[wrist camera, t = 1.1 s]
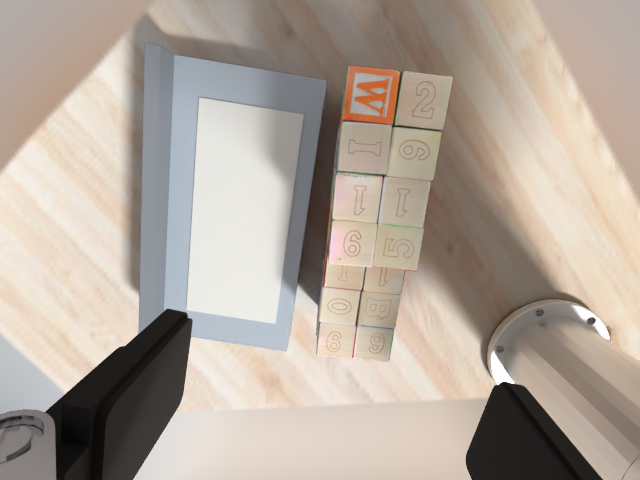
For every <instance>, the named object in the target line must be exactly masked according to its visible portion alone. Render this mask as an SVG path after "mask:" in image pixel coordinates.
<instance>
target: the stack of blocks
mask: <svg viewBox="0 0 640 480" xmlns="http://www.w3.org/2000/svg"><path fill="white" fill-rule="evenodd" d="M452 83H453V77H451V76H442V75H434V74H426V73H418V72H410V71H404V72H402V73H400V72H399V71H396V70H390V69H381V68H372V67H362V66H349V67H348V72H347V78H346V82H345V87H344V94H343V98H342V106H341V114H340V122H339V130H338V133H337V141H336V149H335V158H334V166H333V173H332V181H331V190H330V198H331V200H330V209H329V217H328V228H327V230H328V231H327V239H326V248H325V254H324V255H323V262H322V270H321V279H320V292H319V301H318V315H317V328H316V335H317V352H316V354H317V355H322V356H332V357H341V358H349V359H351V358H356V359H365V360H375V361H384V362H388V361H389V359H390V353H391V346H392V341H393V333H394V329H395V326H396V320H397V314H398V308H399V302H400V294H401V291H402V286H403V279H404V272H405V270H409V271H417V268H418V262H419V256H420V250H421V244H422V239H423V233H424V228H423V225H424V221H425V216H426V210H427V203H428V198H429V193H430V187H431V182H432V180H433V179H434V174H435V169H436V163H437V157H438V152H439V147H440V141H441V136H442V132H441V131H442V130H443V128H444V124H445V119H446V114H447V109H448V104H449V99H450V94H451V88H452Z"/></svg>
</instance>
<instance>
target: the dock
mask: <svg viewBox="0 0 640 480" xmlns="http://www.w3.org/2000/svg"><path fill="white" fill-rule="evenodd" d="M326 90H327V80H324V79H318V78H312V77H306V76H300V75H294V74H288V73H282V72H276V71H270V70H264V69H258V68H252V67H246V66H239V65H233V64H227V63H221V62H215V61H209V60H203V59H197V58H191V57H185V56H179V55H174V54H173V53H171V52H169V51H168V50H166V49H165V48H163V47H162V46H159V45H153V44H147V43H145V51H144V100H143V148H142V196H141V244H140V292H139V333H140V332H141V331H143V330H144V329H145V328H146V327H147V326H148V325H149V324H150V323H151V322H153V321H154V320H155V319H156V318H157V317H158V316H159V315H160V314H161V313H163V312H164V311H165V310H166V309H173V310H177V311H182V312H186V313H187V314H188V318H191V319H192V320H193V324H192V331H191V337H196V338H202V339H209V340H215V341H222V342H228V343H235V344H241V345H248V346H255V347H261V348H268V349H274V350H281V351H287V347H288V342H289V338H290V332H291V325H292V318H293V311H294V305H295V298H296V291H297V285H298V278H299V271H300V265H301V258H302V251H303V244H304V238H305V231H306V224H307V218H308V211H309V204H310V198H311V191H312V184H313V178H314V171H315V164H316V157H317V151H318V144H319V137H320V131H321V124H322V117H323V111H324V104H325V97H326Z"/></svg>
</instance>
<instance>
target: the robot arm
mask: <svg viewBox="0 0 640 480" xmlns="http://www.w3.org/2000/svg"><path fill="white" fill-rule="evenodd" d="M192 324H193V320H192V319H191V318H188V314H187V313H186V312H182V311H177V310H173V309H166V310H165V311H164V312H163V313H161V314H160V315H159V316H158V317H157V318H156V319H155V320H154V321H153V322H151V323H150V324H149V325H148V326H147V327H146V328H145V329H144V330H143V331H141V332H140V333H139V334H138V335H137V336H136V337H135V338H134V339H133V340H132V341H130V342H129V343H128V344H127V345H126V346H123V347H119V348H118V349H116V350H115V351H114V352H113V353H112V354H110V355H109V356H108V357H107V358H106V359H105V360H104V361H102V362H101V363H100V364H99V365H98V366H97V367H96V368H95V369H93V370H92V371H91V372H90V373H89V374H88V375H87V376H85V377H84V378H83V379H82V380H81V381H80V382H79V383H77V384H76V385H75V386H74V387H73V388H72V389H71V390H70V391H68V392H67V393H66V394H65V395H64V396H63V397H62V398H60V399H59V400H58V401H57V402H56V403H55V404H54V405H53V406H51V407H50V408H49V409H48V410H47V411H46V412H42V411H38V410H17V411H10V412H7V413H3V414H0V480H133V479H134V477H135V475H136V474H137V472H138V470H139V469H140V467H141V466H142V464H143V463H144V461H145V459H146V458H147V456H148V455H149V453H150V451H151V450H152V448H153V447H154V445H155V443H156V442H157V440H158V439H159V437H160V435H161V434H162V432H163V431H164V429H165V427H166V426H167V424H168V422H169V421H170V419H171V418H172V416H173V415H174V413H175V411H176V410H177V408H178V406H179V405H180V402H181V400H182V396H183V391H184V384H185V376H186V369H187V361H188V354H189V346H190V339H191V331H192ZM487 365H488V368H489V372H490V374H491V376H492V378H493V380H494V381H495V383H496V384H497V385H495V386H494V388H493V389H492V392H491V394H490V397H489V399H488V402H487V405H486V407H485V409H484V412H483V414H482V417H481V419H480V422H479V424H478V427H477V429H476V432H475V434H474V437H473V439H472V442H471V444H470V447H469V449H468V451H467V454H466V466H467V469H468V472H469V474H470V476H471V479H472V480H640V361H639V360H636V359H635V358H633V357H632V356H630V355H629V354H627V353H626V352H624V351H623V350H621V349H620V348H618V347H617V346H615V345H614V344H612V343H611V341H610V336H609V332H608V330H607V328H606V326H605V324H604V323H603V322H602V320H601V319H600V318H599V317H598V316H597V315H596V314H594V313H593V312H592V311H591V310H589V309H587V308H585V307H584V306H582V305H580V304H577V303H574V302H572V301H567V300H561V299H547V300H542V301H536V302H533V303H531V304H528V305H525V306H523V307H521V308H519V309H518V310H516V311H514V312H513V313H512V314H510V315H509V316H508V317H507V318H505V319H504V320H503V321H502V323H501V324H500V325H499V326H498V327H497V329H496V330H495V332H494V334H493V335H492V337H491V340H490V342H489V345H488V351H487Z"/></svg>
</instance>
